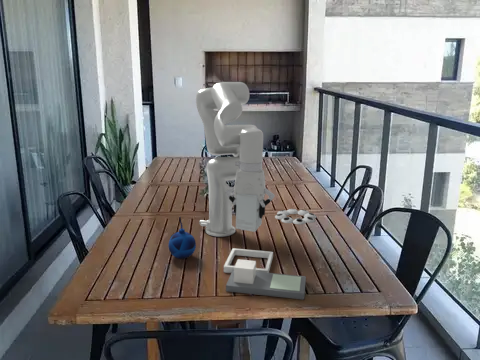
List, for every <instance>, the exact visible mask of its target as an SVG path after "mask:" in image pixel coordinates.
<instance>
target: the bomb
mask: <svg viewBox="0 0 480 360" xmlns="http://www.w3.org/2000/svg"><path fill="white" fill-rule="evenodd" d="M178 218H179V223H180V229H178V231H176V232H174V233H173V234H171V235H170V238H169V240H168V246H167V247H168V250H169V252H170V254H171V255H172V256H173V257H174V258H177V259H180V260H186V259H188V258H190V257H191V256H192V255H193V254H194V252H195V251H196V248H197V243H196V239H195V237H194V236H193V234H191V233H190V232H187V231H186V230H185V228H183V223H182V219H181V216H179V217H178Z"/></svg>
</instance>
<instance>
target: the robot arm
mask: <svg viewBox="0 0 480 360" xmlns="http://www.w3.org/2000/svg"><path fill="white" fill-rule="evenodd" d="M249 99H250V89H249V87H248V85H247V84H246V83H245V82H242V81H220V82H216V83H215V84H214V85H213V86H212V87H207V88H206V87H205V88H201V89H199V90H198V91H197V93H196V96H195V103H196V104H195V105H196V108H197V112H198V115H199V117H200V120H201V121H202V124H203V129H204V137H205V143H206V149H207V153H208V154H209V155H212V156H223V157H214V158H212V159H210V160H208V161H207V163H206V166H205V168H206V176H207V183H208V212H209V213H208V219H207V220H204V219H200V220H199V225H200V226H201V227H205V233H206V234H207V235H209V236H212V237H219V238H223V237H229V236H232V235H234V234H235V233H236V226H234V225H232V224H233V213H235V214H234V216H235V217H236V199H237V194H246V195H257V196H258V201H259V202H260V204H261V207H260V218H262V219H263V216H265V215H266V206H267V205H269V204H271V201H272V200H273V199H274V198H275V194H274V193H273V192H272V191H270V189H268V188H267V187H266V178H265V177H266V176H265V171H264V169H263V154H264V132H263V131H262V130H261V129H259V128H258V127H257V125H255V124H230V123H232V122H234V121H236V120H237V119H238V118H240V116H241V115H242V113H243V106H244V105H246V104H247V103H248V101H249ZM216 110H217V111H218V112H217V111H216ZM227 155H232V156H227ZM228 181H229V182H230V181H234V186H232V187H231V186H229V184H227V182H228ZM266 195H267V196H268V198H266V199H265V196H266Z"/></svg>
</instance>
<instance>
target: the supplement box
mask: <svg viewBox="0 0 480 360" xmlns="http://www.w3.org/2000/svg"><path fill="white" fill-rule="evenodd" d="M260 207H261V204H260V202H259V201H258V196H257V195H246V194H237V199H236V216H235V230H242V231H248V232H253V233H255V232H257V230H258V229H259V228H260V227H261V225H262V223H263V222H262V221H263V220H262V219H263V217H262V218H260Z"/></svg>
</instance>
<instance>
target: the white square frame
mask: <svg viewBox="0 0 480 360" xmlns="http://www.w3.org/2000/svg"><path fill="white" fill-rule="evenodd" d="M235 256H241V257H250V258H252V257H253V258H261V259H262V258H263V259H267V262H266V265H265V268H261V267H260V268H258V267H256V272H266V273H270V269H271V265H272V261H273V257H274V252H273V251H266V250H257V249H256V250H255V249H245V248H235V247H234V248H233V247H232V249H231V251H230V253H229V255H228V257H227V259H226V260H225V263H224V264H223V273H227V274H231V273H232V271H233V269H234V267H235V265H231V264H232V262H233V260H234V257H235Z"/></svg>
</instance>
